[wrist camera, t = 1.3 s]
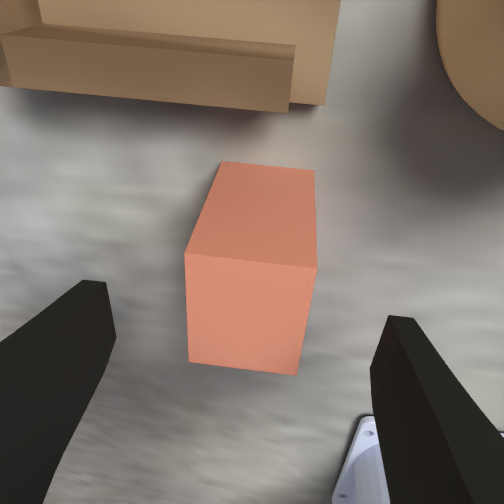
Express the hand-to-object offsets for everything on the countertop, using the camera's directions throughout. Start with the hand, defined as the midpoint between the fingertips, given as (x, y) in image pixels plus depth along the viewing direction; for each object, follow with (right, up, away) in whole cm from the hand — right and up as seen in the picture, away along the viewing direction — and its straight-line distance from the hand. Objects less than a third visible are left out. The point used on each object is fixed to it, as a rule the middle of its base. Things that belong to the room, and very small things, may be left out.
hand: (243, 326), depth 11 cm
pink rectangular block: (+1, +3, +5) cm, 6 cm away
